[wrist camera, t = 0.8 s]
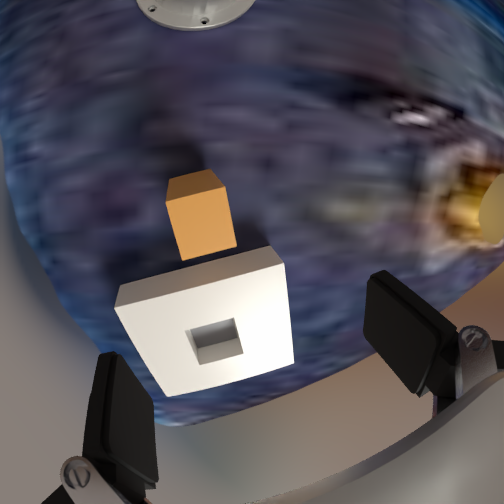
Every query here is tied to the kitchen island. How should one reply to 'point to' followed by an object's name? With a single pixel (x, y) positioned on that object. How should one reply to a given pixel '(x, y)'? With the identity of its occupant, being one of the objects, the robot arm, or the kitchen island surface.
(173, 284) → the socket block
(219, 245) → the plug
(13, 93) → the kitchen island surface
